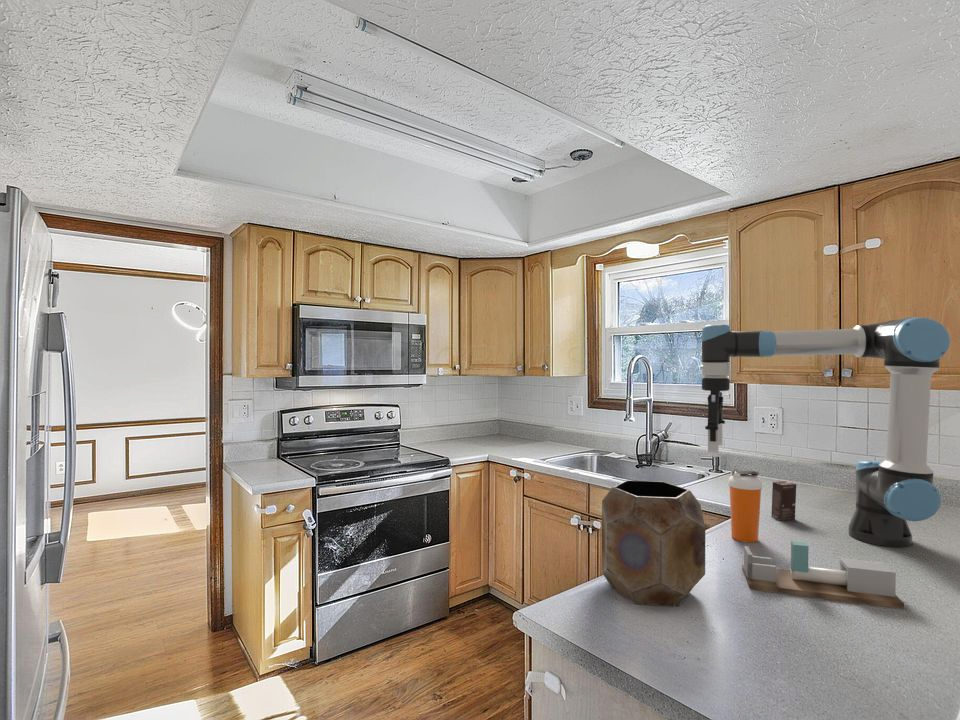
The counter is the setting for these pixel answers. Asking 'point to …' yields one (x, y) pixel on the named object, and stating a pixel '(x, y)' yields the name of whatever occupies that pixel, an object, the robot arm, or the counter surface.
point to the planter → (652, 542)
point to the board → (820, 590)
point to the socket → (758, 567)
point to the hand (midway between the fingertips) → (715, 448)
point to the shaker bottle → (745, 505)
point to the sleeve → (869, 577)
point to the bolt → (811, 573)
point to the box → (783, 500)
